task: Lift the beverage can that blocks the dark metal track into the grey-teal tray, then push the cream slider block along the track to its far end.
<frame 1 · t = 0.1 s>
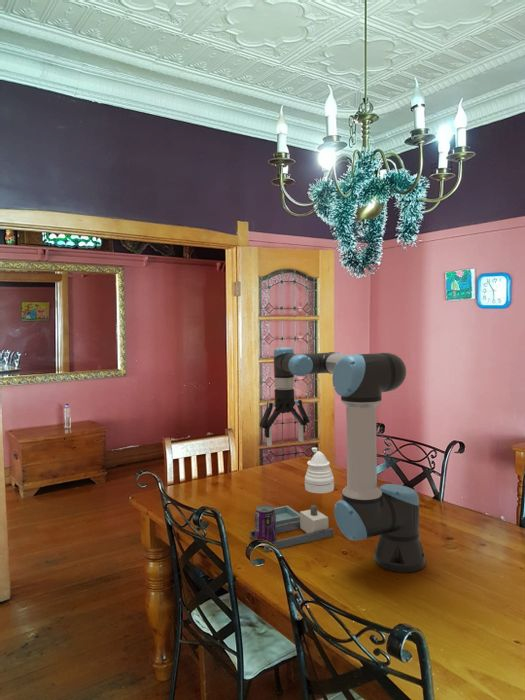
hand: (285, 443, 195), 28 cm above the table, tool pointing down, fingers open, 13 cm apart
beverage can: (265, 543, 173), on the table
slider: (314, 518, 181), point 5 cm above the table, slide at 0.0 cm
slide track: (291, 537, 177), on the table
tray: (281, 521, 191), on the table
honey pot: (319, 488, 227), on the table
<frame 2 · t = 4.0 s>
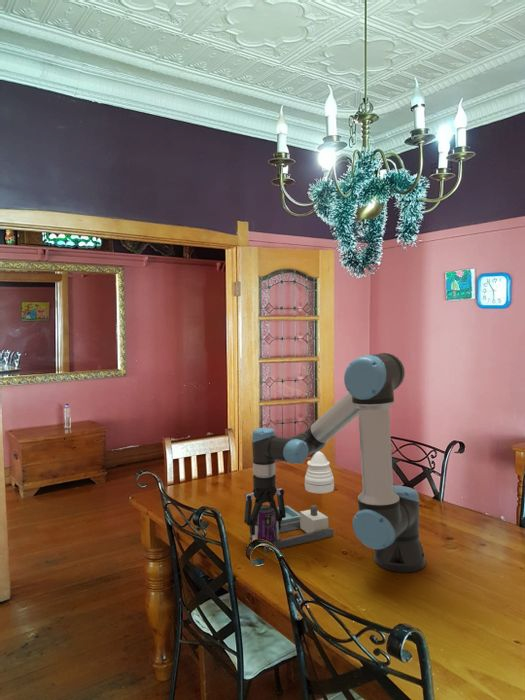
hand: (265, 541, 173), 1 cm above the table, tool pointing down, fingers closed on beverage can, 7 cm apart
beverage can: (265, 543, 173), on the table, touching gripper
everything else where it was.
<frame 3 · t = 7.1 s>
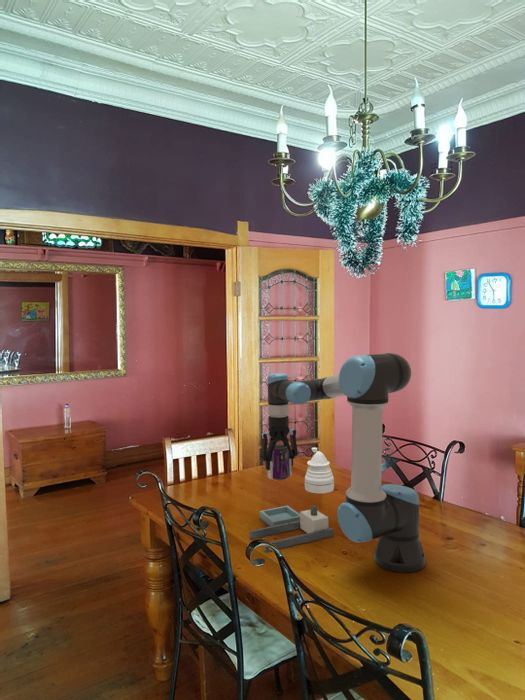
hand: (279, 476, 190), 17 cm above the table, tool pointing down, fingers closed on beverage can, 7 cm apart
beverage can: (279, 478, 190), point 16 cm above the table, touching gripper
everything else where it was.
when the fingers open (3 cm above the table, at t = 10.2 s): beverage can drops 2 cm, resting on tray.
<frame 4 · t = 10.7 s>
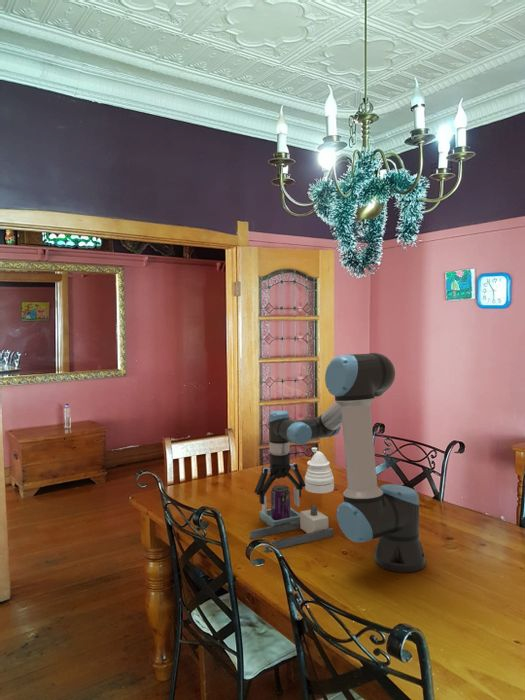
hand: (280, 509, 191), 5 cm above the table, tool pointing down, fingers open, 13 cm apart
beverage can: (280, 519, 191), point 1 cm above the table, touching tray
everything else where it was.
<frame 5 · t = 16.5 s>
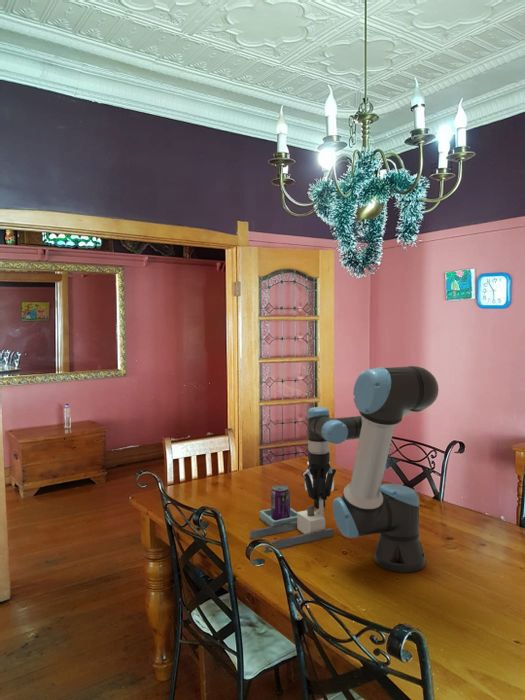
hand: (319, 516, 182), 5 cm above the table, tool pointing down, fingers closed
slider: (310, 519, 180), point 5 cm above the table, slide at 1.3 cm, touching gripper
everything else where it was.
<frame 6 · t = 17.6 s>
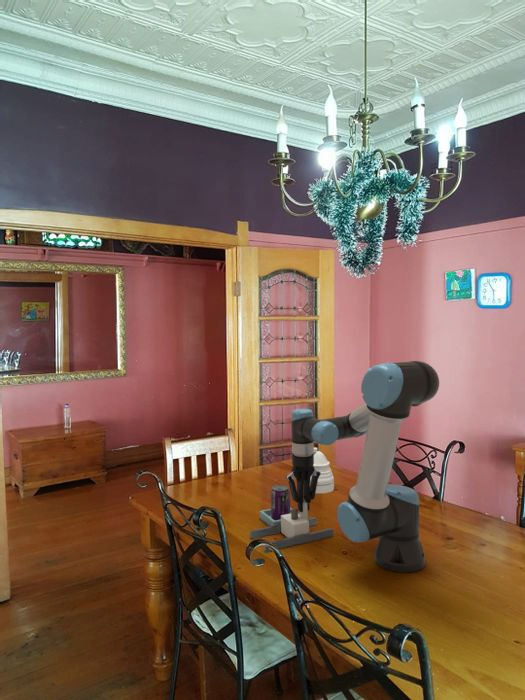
hand: (303, 520, 179), 5 cm above the table, tool pointing down, fingers closed
slider: (294, 522, 177), point 5 cm above the table, slide at 7.8 cm, touching gripper
everything else where it was.
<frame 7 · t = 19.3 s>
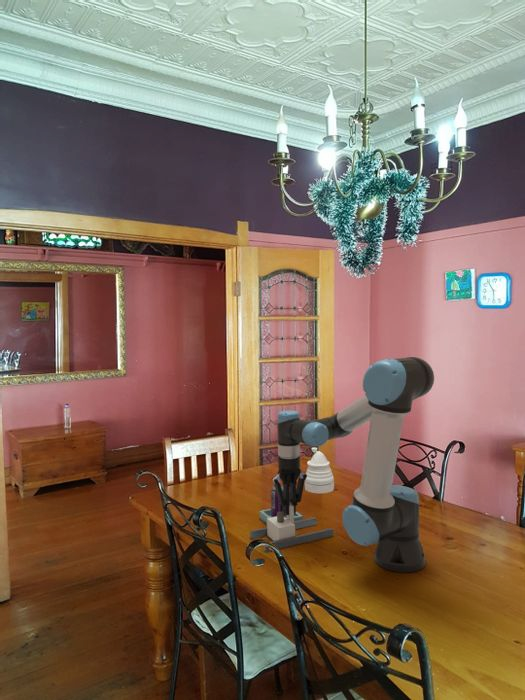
hand: (290, 523, 177), 5 cm above the table, tool pointing down, fingers closed
slider: (280, 525, 175), point 5 cm above the table, slide at 13.2 cm, touching gripper
everything else where it was.
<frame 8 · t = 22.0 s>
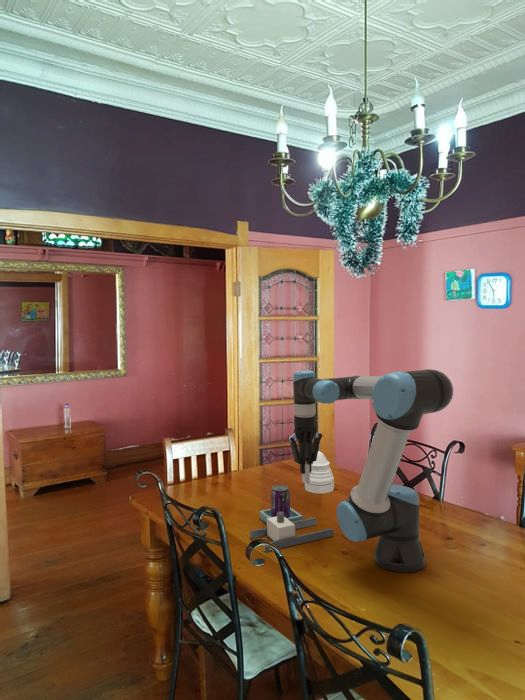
hand: (305, 482, 179), 18 cm above the table, tool pointing down, fingers closed
slider: (280, 525, 175), point 5 cm above the table, slide at 13.2 cm
everything else where it was.
at the end: beverage can 0.1 cm off-centre on the tray, point 0.6 cm above the tray's base; beverage can tilted 0°; slider slide at 13.2 cm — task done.
